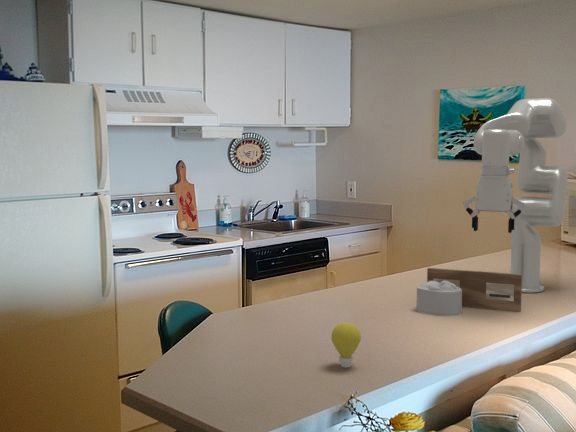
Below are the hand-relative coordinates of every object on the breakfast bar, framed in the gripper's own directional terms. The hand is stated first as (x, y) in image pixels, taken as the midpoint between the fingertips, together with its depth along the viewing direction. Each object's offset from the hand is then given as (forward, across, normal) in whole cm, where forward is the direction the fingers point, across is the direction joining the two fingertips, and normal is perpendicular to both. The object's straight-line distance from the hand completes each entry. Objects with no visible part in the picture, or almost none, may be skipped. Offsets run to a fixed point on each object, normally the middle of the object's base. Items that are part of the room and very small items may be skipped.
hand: (492, 231), depth 201 cm
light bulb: (+27, +24, +60) cm, 70 cm away
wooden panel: (+24, +6, -8) cm, 26 cm away
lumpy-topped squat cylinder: (+25, +14, +1) cm, 29 cm away
